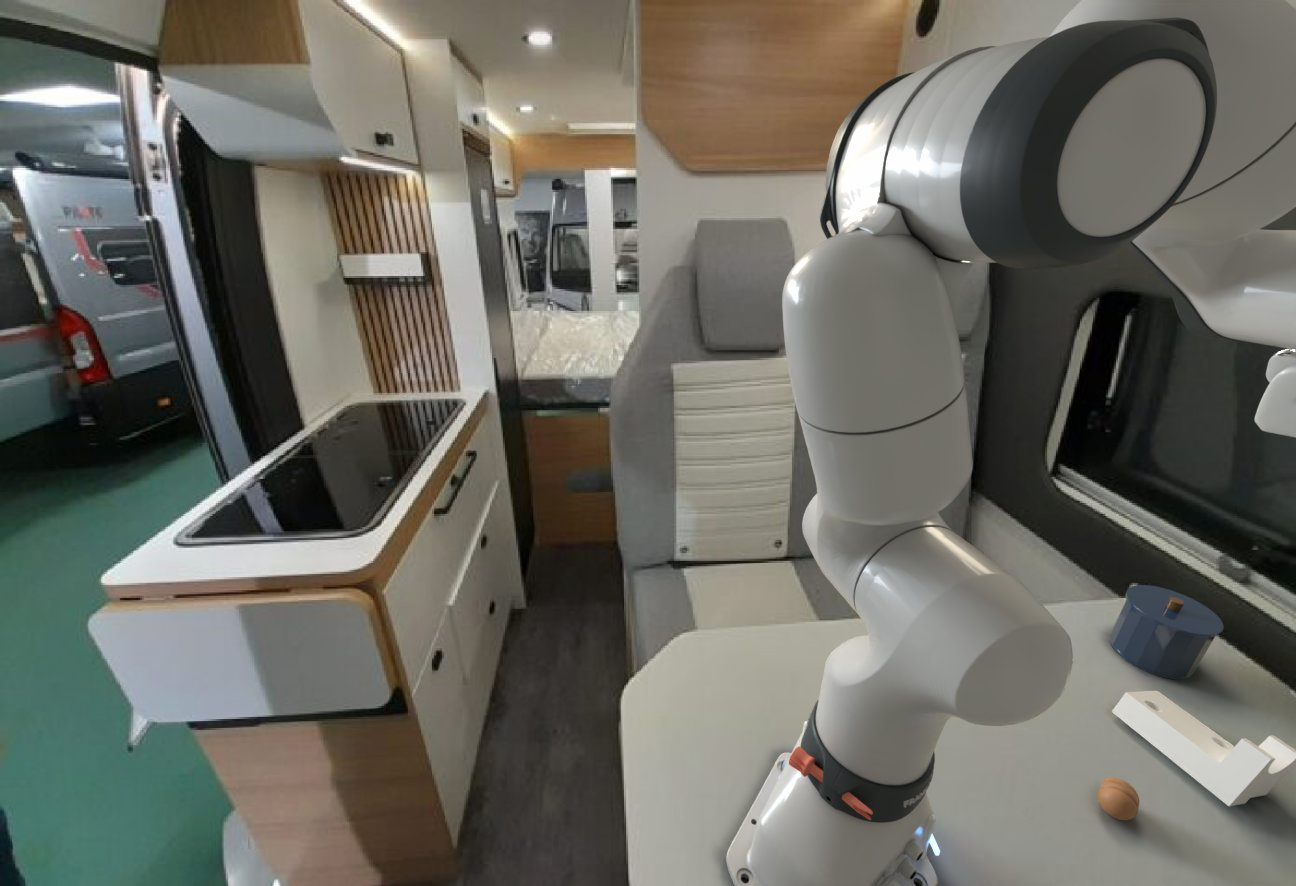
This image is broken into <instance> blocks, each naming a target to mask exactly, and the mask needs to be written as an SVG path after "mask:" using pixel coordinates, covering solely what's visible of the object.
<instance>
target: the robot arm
mask: <svg viewBox="0 0 1296 886" xmlns="http://www.w3.org/2000/svg"><path fill="white" fill-rule="evenodd" d="M831 144H832V145H831V147H830V151H829V155H828V159H827V165H826V169H825V170H826V171H825V195H824V198H823V201H822V205H821V209H820V212H819V222H820V223H819V224H820V227H821V230H822V232H823V234H824V236H825V238H826V239H824V240H822V241H821V242H819V243H817V245H815V246H813V247H812V248H810V250H808V251H807V252H806V253H804V254H803V255H802V256H801V257H800V258H799V259H798V260H797V261H796V262H795V264H794V265H793V266H792V267H791V270H790V271H789V273H788V274H787V276H786V279H785V281H784V285H783V289H782V295H781V307H782V326H783V340H784V349H785V355H786V364H787V369H788V375H789V380H790V386H791V391H792V395H793V399H794V403H795V407H796V411H797V415H798V418H799V422H800V426H801V429H802V433H803V439H804V441H805V445H806V449H807V452H808V456H809V460H810V464H811V468H812V472H813V476H814V479H815V486H816V494H815V495H814V496H813V497H812V499H811V500H810V501H809V503H808V504H807V507H806V508H805V511H804V513H803V517H802V523H801V526H802V527H801V529H802V530H801V531H802V535H803V537H804V540H805V542H806V544H807V546H808V548H809V550H810V552H811V554H812V557H813V558H814V560H815V562H816V564H817V566H818V567H819V570H820V571H821V573H822V574H823V575H824V576H825V578H826V579H827V580H828V581H829V582H830V583H831V585H832V586H833V587H834V588H835V589H836V590H837V592H838V593H839V594H840V595H841V597H843V599H844V600H845V602H847V604H848V605H849V606H850V607H851V608H852V610H853V611H854V612H855V613H856V614H857V615H858V616H859V618H860V619H861V621H862V623H863V624H864V626H865V629H866V632H867V634H866V635H859V636H853V637H851V638H849V639H847V640H845V641H844V642H842V643H841V644H839V645H838V646H837V647H835V648H834V649H833V650H832V651H831V653H830V654H829V655H828V656H827V659H826V661H825V664H824V668H823V674H822V675H823V676H822V681H821V685H820V691H819V694H818V695H819V696H818V699H817V701H816V702H815V704H814V706H813V708H812V709H811V712H810V713H809V716H808V719H807V720H806V721H804V722H803V728H802V732H801V733H800V735H799V737H798V739H797V742H796V744H795V745H794V747H793V749H792V751H791V752H783V753H781V754H779V756H778V757H777V759H776V761H775V763H774V764H773V767H772V768H771V770H770V772H769V773H768V776H767V778H766V779H765V781H764V783H763V785H762V787H761V788H760V791H759V792H758V794H757V795H756V798H755V800H754V801H753V803H752V805H751V806H750V809H749V810H748V813H747V814H746V816H745V818H744V819H743V822H742V823H741V825H740V827H739V829H738V831H737V833H736V834H735V836H734V838H733V840H732V842H731V844H730V846H729V847H728V850H727V853H726V856H725V864H726V867H727V871H728V873H729V874H728V875H729V876H730V879H731V881H732V883H733V886H917V885H916V884H915V883H917V884H918V885H919V886H938V881H939V880H938V876H937V873H936V870H935V869H934V866H933V864H932V862H931V861H930V859H929V857H928V854H927V852H928V849H929V845H930V846H931V848H932V851H933V853H934V855H935V856H940V853H941V850H940V848H939V846H938V843H937V841H936V839H935V837H934V835H933V831H934V828H935V824H936V816H935V813H934V810H933V807H932V806H931V803H930V799H929V797H928V793H927V790H928V789H929V787H930V785H931V782H932V780H933V776H934V771H935V770H934V769H935V761H936V754H935V749H936V747H937V744H938V742H939V739H940V737H941V735H942V732H943V730H944V728H945V726H946V723H947V721H948V720H950V718H952V717H953V718H957V719H960V720H963V721H965V722H967V723H970V724H974V725H977V726H978V725H979V726H987V727H1007V726H1014V725H1018V724H1022V723H1024V722H1028V721H1031V720H1033V719H1035V718H1037V717H1039V716H1041V715H1042V714H1044V713H1045V712H1046V711H1048V710H1049V709H1050V708H1051V707H1052V706H1054V705H1055V703H1056V702H1057V701H1058V700H1059V699H1060V698H1061V696H1062V695H1063V693H1064V692H1065V689H1066V687H1067V685H1068V683H1069V681H1070V677H1071V673H1072V670H1073V658H1074V657H1073V655H1074V654H1073V646H1072V645H1073V644H1072V639H1071V637H1070V634H1069V633H1068V632H1067V631H1066V629H1065V628H1064V627H1063V626H1062V625H1061V623H1059V621H1058V620H1057V619H1056V618H1055V617H1054V615H1052V613H1051V612H1050V611H1049V610H1048V609H1047V608H1046V607H1045V605H1043V603H1042V602H1041V601H1040V600H1039V599H1038V598H1037V597H1036V596H1035V594H1033V593H1032V592H1031V591H1030V589H1029V588H1028V587H1026V585H1024V583H1023V582H1022V581H1021V580H1020V579H1018V578H1017V577H1015V576H1014V575H1013V574H1011V573H1010V572H1009V571H1007V570H1006V569H1005V568H1003V567H1002V566H1001V565H1000V564H998V563H997V562H995V561H994V560H992V558H990V557H989V556H987V555H985V554H984V553H983V552H982V551H980V550H979V549H978V548H976V547H975V546H973V544H971V543H970V542H968V541H966V540H965V538H962V537H961V536H960V535H959V534H958V533H956V532H955V531H954V530H953V529H952V528H951V527H949V525H948V524H947V523H946V522H945V520H944V519H943V518H942V516H941V514H940V513H939V512H940V511H942V510H944V509H945V508H946V507H948V506H949V505H950V504H951V503H952V502H953V501H954V500H956V498H957V497H958V496H959V495H960V493H962V491H963V490H964V489H965V487H966V486H967V484H968V482H969V481H970V478H971V476H972V474H973V469H974V468H973V467H974V460H973V459H974V457H973V449H972V448H973V447H972V438H971V428H970V419H969V409H968V398H967V387H966V378H965V371H964V361H963V354H962V348H961V344H960V337H959V333H958V328H957V324H956V323H957V316H958V315H957V314H958V307H959V302H960V297H961V294H962V290H963V288H964V285H965V282H966V280H967V277H968V274H969V272H970V270H971V268H972V266H973V263H992V264H993V263H994V264H995V263H996V264H999V265H1001V266H1004V267H1008V268H1012V269H1017V270H1041V269H1042V270H1044V269H1058V268H1067V267H1074V266H1080V265H1084V264H1088V263H1089V264H1090V263H1093V262H1096V261H1099V260H1102V259H1104V258H1107V257H1109V256H1111V255H1113V254H1115V253H1116V252H1118V251H1121V249H1123V248H1125V247H1127V248H1128V249H1129V250H1130V251H1131V252H1132V253H1133V254H1134V256H1135V257H1136V258H1138V260H1139V261H1140V262H1142V264H1144V266H1145V267H1147V268H1148V270H1150V271H1151V273H1152V274H1153V275H1154V276H1155V277H1156V278H1157V279H1158V280H1159V281H1160V282H1161V283H1162V284H1163V285H1164V286H1165V288H1166V289H1167V291H1168V292H1169V294H1170V296H1171V298H1172V301H1173V304H1174V307H1175V309H1176V312H1177V315H1178V317H1179V319H1180V320H1181V323H1182V324H1183V325H1184V327H1185V328H1186V329H1187V330H1188V331H1189V332H1190V333H1192V334H1193V335H1194V336H1198V337H1199V338H1204V339H1214V340H1222V341H1223V340H1224V341H1232V342H1248V343H1253V344H1259V345H1265V346H1272V347H1277V348H1283V349H1282V350H1280V351H1277V352H1276V353H1274V354H1273V355H1272V356H1270V358H1269V360H1268V363H1267V366H1266V371H1265V377H1266V379H1267V381H1268V382H1269V384H1268V385H1267V387H1266V389H1265V390H1264V393H1263V395H1262V397H1261V399H1260V401H1259V404H1258V406H1257V409H1256V412H1255V415H1254V422H1255V424H1256V425H1257V426H1258V428H1259V429H1260V430H1261V431H1263V432H1265V433H1269V434H1276V435H1281V436H1286V437H1291V438H1296V229H1283V228H1282V229H1281V228H1272V227H1267V226H1269V225H1270V224H1272V223H1273V222H1275V221H1277V220H1278V219H1280V218H1282V217H1284V216H1286V214H1288V213H1289V212H1291V211H1292V210H1294V209H1295V208H1296V8H1295V7H1294V6H1293V5H1292V4H1291V3H1289V2H1288V1H1287V0H1080V1H1079V2H1078V3H1077V4H1076V5H1075V6H1074V7H1073V8H1072V9H1071V10H1070V11H1069V12H1067V14H1066V15H1065V16H1064V17H1063V19H1061V20H1060V22H1059V23H1058V24H1057V25H1056V27H1055V28H1054V29H1053V30H1052V32H1051V33H1050V35H1048V36H1044V37H1043V36H1042V37H1037V38H1030V39H1025V40H1020V41H1014V42H1011V43H1006V44H1002V45H998V46H997V45H996V46H995V45H988V46H979V47H976V48H971V49H968V50H966V51H961V52H960V53H957V54H953V55H951V56H949V57H946V58H944V59H941V60H939V61H937V62H934V63H932V64H929V65H928V66H926V67H923V68H921V69H919V70H917V71H914V72H908V73H904V74H902V75H899V76H896V77H893V78H892V79H890V80H888V81H886V82H885V83H883V84H881V85H880V86H878V87H877V88H875V89H874V90H873V91H872V92H870V93H869V94H868V95H866V96H865V97H864V98H862V99H861V101H859V103H857V104H856V105H855V106H854V107H853V108H852V110H851V111H850V112H849V113H848V114H847V115H846V117H845V118H844V120H843V121H842V123H841V125H840V126H839V128H838V129H837V132H836V133H835V137H834V139H833V142H832V143H831ZM828 222H829V223H830V225H831V227H832V228H833V231H834V233H835V234H834V235H832V233H831V231H830V229H829V227H828V224H827V223H828ZM742 879H746V880H747V882H746V883H745V882H744V881H743V880H742Z"/></svg>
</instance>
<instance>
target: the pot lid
mask: <svg viewBox="0 0 1296 886" xmlns="http://www.w3.org/2000/svg"><path fill="white" fill-rule="evenodd" d="M1126 599H1127V601H1128V603H1129V604H1130V605H1131V606H1132V607H1133V608H1134V609H1135V610H1136V611H1137V612H1138V613H1140V614H1141V615H1143V616H1144V617H1146V618H1147V619H1149V620H1151V621H1153V622H1155V623H1157V624H1159V625H1161V626H1163V627H1165V628H1168V629H1170V630H1173V631H1176V632H1179V633H1183V634H1186V635H1191V636H1196V637H1214V636H1215V637H1218V636H1219V635H1221V633H1222V632H1223V630H1224V624H1223V621H1222V619H1221V618H1220V617H1219V616H1218V615H1217V614H1216V613H1215V612H1214V611H1213V610H1212V609H1210V608H1208V606H1207V605H1204V604H1203V603H1201V602H1199V601H1197V600H1196V599H1194V598H1192V597H1189V596H1187V595H1185V594H1182V593H1180V592H1177V591H1175V590H1171V589H1168V588H1166V587H1165V588H1164V587H1160V586H1156V585H1149V584H1148V585H1147V584H1135V585H1132V586H1130V587H1128V589H1126V592H1125V600H1126Z"/></svg>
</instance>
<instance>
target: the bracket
mask: <svg viewBox="0 0 1296 886" xmlns="http://www.w3.org/2000/svg"><path fill="white" fill-rule="evenodd" d="M1111 713H1113V714H1114V715H1115V716H1116V717H1117V718H1118V719H1120V720H1121V721H1122V722H1124V723H1125V724H1126V725H1127V726H1129V727H1130V728H1131V729H1132V730H1133V731H1135V732H1136V733H1137V734H1139V735H1140V736H1141V737H1143V739H1145V740H1146V741H1147V742H1148V743H1150V744H1151V745H1152V746H1153V747H1155V748H1156V749H1157V750H1158V751H1160V752H1161V753H1162V754H1163V755H1165V757H1166V758H1168V759H1169V760H1170V761H1172V762H1173V763H1174V764H1176V765H1177V766H1178V767H1179V768H1181V770H1183V771H1184V772H1185V773H1187V775H1189V776H1191V778H1193V779H1194V780H1195V781H1196V782H1198V783H1199V784H1200V785H1202V786H1203V787H1204V788H1205V789H1206V790H1208V791H1209V792H1210V793H1211V794H1213V795H1214V796H1215V797H1216V798H1218V799H1219V800H1220V801H1222V802H1223V803H1224V804H1225V805H1226V806H1228V807H1233V806H1238V805H1245V804H1246V803H1247V802H1248V801H1249V800H1250V799H1251V798H1257V797H1258V798H1259V797H1262V796H1263V797H1264V796H1267V795H1268V794H1269V793H1270V792H1271V791H1272V790H1273V788H1274V787H1275V786H1276V785H1278V783H1279V782H1280V781H1281V780H1282V779H1283V777H1284V776H1285V775H1286V774H1288V772H1289V771H1290V770H1292V768H1293V767H1294V766H1295V764H1296V749H1295V748H1294V747H1292V746H1290V745H1289V744H1288V743H1287V742H1284V741H1283V740H1282V739H1280V738H1278V737H1277V736H1275V735H1273V734H1272V735H1268V736H1267V738H1266V739H1265V740H1264V741H1262V742H1261V743H1260V744H1258V745H1257V744H1255V743H1254V742H1253V741H1251V740H1249V739H1248V738H1247V737H1243V738H1241V739H1239V741H1238V742H1237V743H1236V744H1235V745H1234V744H1232V743H1230V742H1229V741H1228V740H1226V739H1225V738H1223V737H1222V736H1221V735H1219V734H1218V733H1217V732H1215V731H1214V730H1213V729H1211V728H1209V727H1208V726H1207V725H1206V724H1204V723H1202V721H1200V720H1198V718H1196V717H1194V716H1193V715H1192V714H1190V713H1189V712H1188V711H1187V710H1185V709H1183V708H1182V707H1180V706H1179V705H1178V704H1177V703H1176V702H1173V701H1172V700H1171V699H1170V698H1168V697H1166V696H1165V695H1164V694H1162V693H1161V692H1160V691H1159V690H1143V691H1141V690H1140V691H1125V693H1123V695H1122V696H1121V698H1120V700H1119V701H1118V702H1117V703H1116V705H1115V706H1114V707H1113V709H1112V710H1111Z"/></svg>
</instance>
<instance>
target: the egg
mask: <svg viewBox="0 0 1296 886" xmlns="http://www.w3.org/2000/svg"><path fill="white" fill-rule="evenodd" d="M1097 799H1098V803H1099V805H1100V806H1101V808H1102V809H1103V811H1105V813H1107V814H1108V815H1109V816H1110V817H1113V818H1114V819H1116V820H1121V821H1129V820H1132V819H1134V818H1135V817H1137V814H1138V811H1139V807H1140V797H1139V794H1138V792H1137V790H1136V789H1135V788H1134V786H1132V785H1131V784H1130V783H1129V782H1127V781H1126V780H1124V779H1121V778H1119V777H1108V778H1107V777H1106V778H1105V779H1103V780H1102V782H1101V783H1100V786H1099V789H1098V793H1097Z"/></svg>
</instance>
